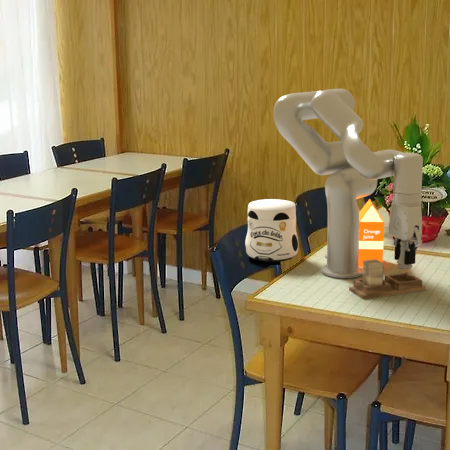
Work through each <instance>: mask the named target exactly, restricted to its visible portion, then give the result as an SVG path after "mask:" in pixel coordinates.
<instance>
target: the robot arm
mask: <svg viewBox="0 0 450 450" xmlns="http://www.w3.org/2000/svg"><path fill="white" fill-rule="evenodd" d="M355 103H356V101H355V98H354V96H353V94H352V93H351V92H350V91H348V90H347V89H345V88H332V89H331V88H330V89H324V90H313V91H302V92H294V93H288V94H285V95H283V96H281V97H279V98H278V99H277V100H276V102H275V104H274V106H273V111H272V112H273V113H272V115H273V122H274V124H275V127H276V130H277V131H278V133H279V134H280V136H282V137H283V139H284V140H286V142H288V144H289V145H291V147H292V148H293V149H294V150H295V151H296V153H297V154H298V155H299V156H300V157H301V159H302V160H303V161H304V162H305V163H306V164H307V166H308V167H309V168H310V169H311V170H312V171H313V173H315V174H316V175H318V176H327V175H329V176H328V177H327V179H325V183H324V184H325V185H324V192H325V197H326V204H327V234H326V235H327V236H326V237H327V239H326V240H327V241H326V242H327V243H326V244H327V245H326V247H327V248H326V254H325V256H324V258H325V259H326V264H324V265H323V266H321V273H322V274H323V275H325V276H328V277H331V278H335V279H353V278H358V277H361V276H363V268H362V267H361V266H359V236H360V209H359V206H358V203H357V200H358V199H361V198H364V197H368V196H371V195H372V194H373V193H374V192H375V191H376V189H377V185H378V180H379V179H380V180H381V179H383V178H384V179H385V178H388V177H393V193H392V195H393V197H392V202H391V205H390V210H389V211H390V212H389V218H388V219H389V220H388V221H389V222H388V233H389V235H390V236H391V237H392V240H393V245H394V255H393V256H394V257H393V258H394V260H395V261H398V260H399V257H400V253H401V249H400V248H401V245H400V242H401V240H403V241H406V250H407V251H405V258H404V264H405V265H410V264H411V265H414V264H416V256H417V255H416V253H417V252H416V251H417V250H418V248H419V246H421V245H423V240H422V235H423V232H422V231H423V216H422V215H423V214H422V205H421V204H422V193H423V192H422V190H423V189H422V186H423V167H424V165H423V163H424V161H423V160H424V158H423V156H422V155H421V154H419V153H417V152H403V151H399V150H396V149H389V148H388V149H383V150H379V151H372V150H370V148H369V147H368V146H367V145H366V144H365V143H364V141H362V139H361V138H360V133H361V131H362V130H363V128H364V120H363V119H362V118H361V117H360V116H359V115H358V114H357V113H356V112H355V111H354V109H355V105H356V104H355ZM314 119H319V120H320V122H322V124H324V125H325V126H326V127H327V129H329V130H330V131H331V133H332V134H333V135H334V136H336V138H337V139H338V141H337V140H335V141H326V140H325V139H324V138H323V137H322V136H321V135H320V133H319V132H318V131H317V130H316V129H315V128H313V126H311V125H309V124H307V123H306V122H304V121H308V120H314ZM410 242H411V245H410Z"/></svg>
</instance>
